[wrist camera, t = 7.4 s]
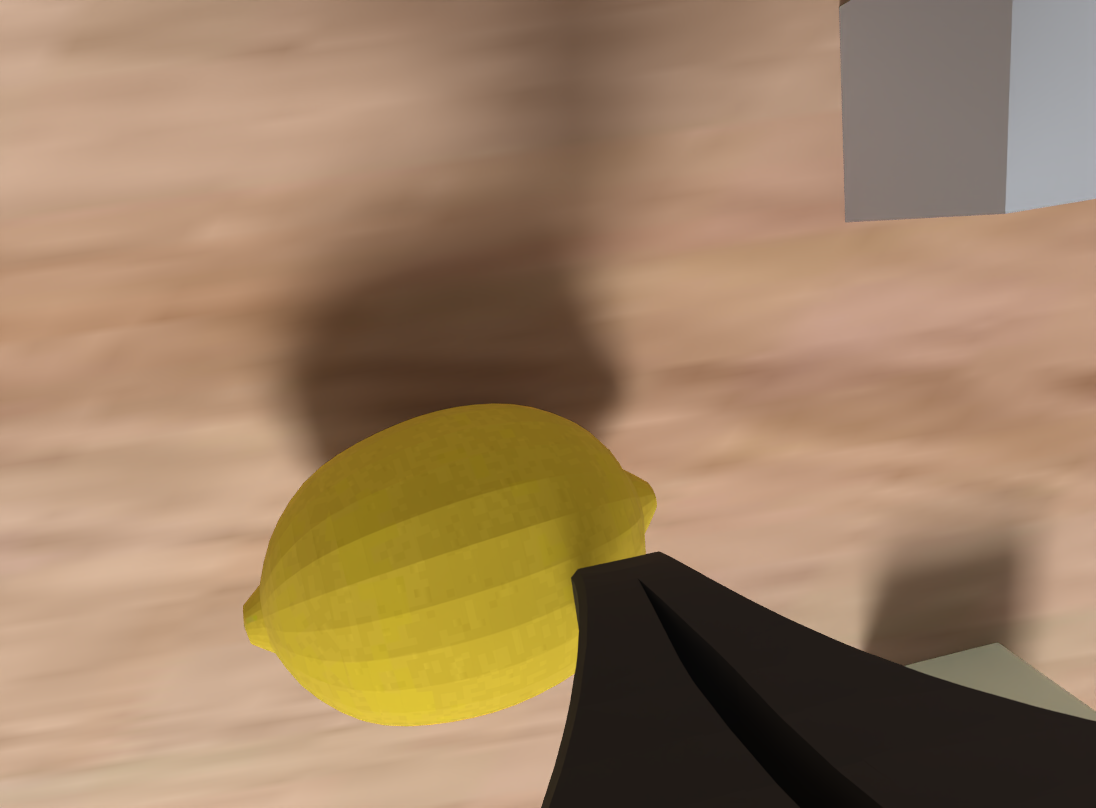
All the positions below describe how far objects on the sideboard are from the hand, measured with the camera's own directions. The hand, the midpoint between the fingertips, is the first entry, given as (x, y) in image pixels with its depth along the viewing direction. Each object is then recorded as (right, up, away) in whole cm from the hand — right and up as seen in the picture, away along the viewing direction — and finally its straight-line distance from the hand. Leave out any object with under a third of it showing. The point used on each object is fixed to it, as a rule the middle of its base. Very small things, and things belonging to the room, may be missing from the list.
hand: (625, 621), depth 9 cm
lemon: (+1, +1, +4) cm, 5 cm away
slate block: (+8, +10, +6) cm, 14 cm away
